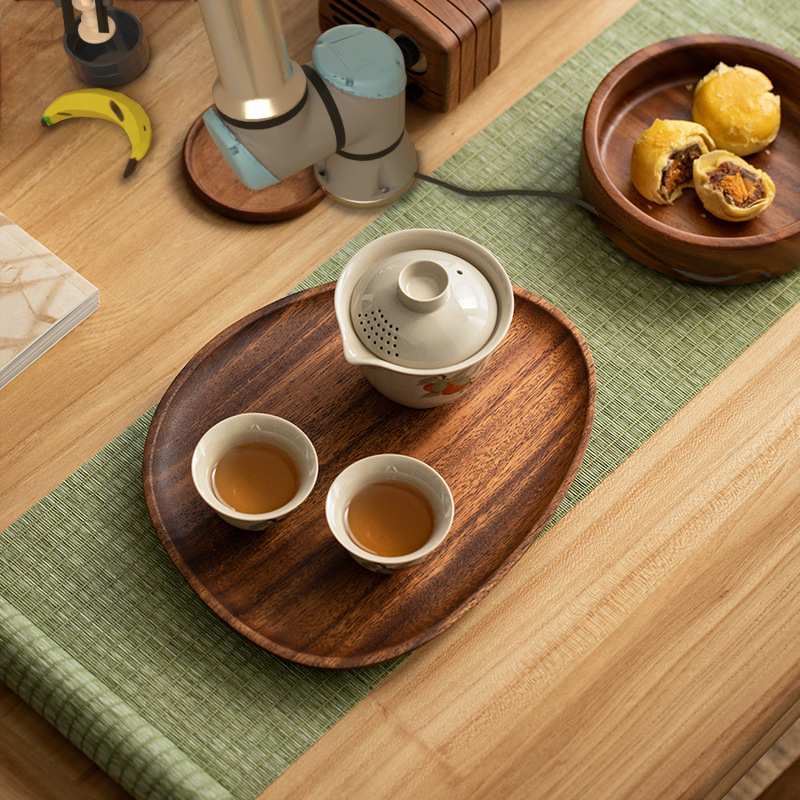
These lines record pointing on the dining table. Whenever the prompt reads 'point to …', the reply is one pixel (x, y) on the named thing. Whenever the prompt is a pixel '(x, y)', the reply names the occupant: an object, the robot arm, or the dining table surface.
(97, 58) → the bowl
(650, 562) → the dining table surface
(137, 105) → the banana
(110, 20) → the candle
